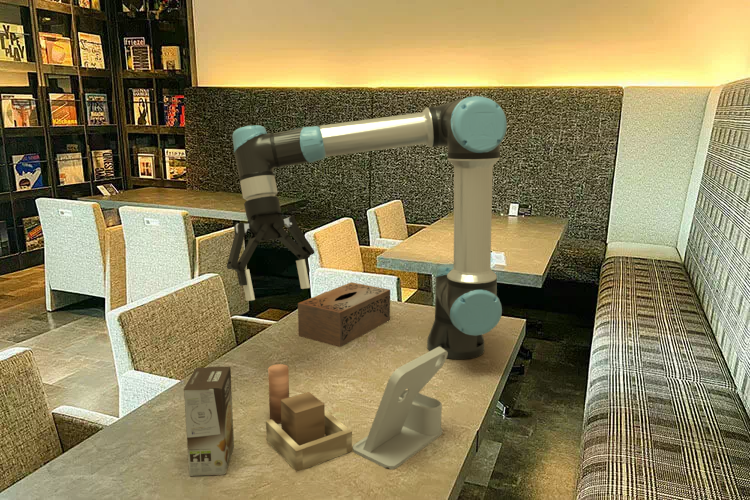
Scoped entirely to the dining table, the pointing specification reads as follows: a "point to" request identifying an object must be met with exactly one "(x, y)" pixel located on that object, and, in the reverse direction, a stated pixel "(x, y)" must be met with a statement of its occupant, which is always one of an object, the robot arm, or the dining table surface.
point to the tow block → (294, 408)
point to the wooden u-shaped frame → (311, 444)
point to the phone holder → (405, 414)
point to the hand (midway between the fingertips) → (278, 294)
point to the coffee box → (209, 420)
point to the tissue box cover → (343, 313)
